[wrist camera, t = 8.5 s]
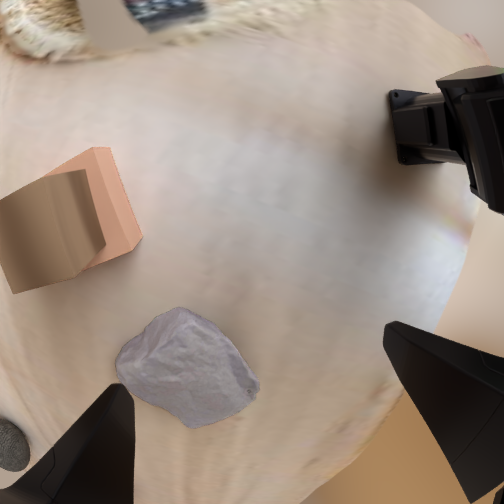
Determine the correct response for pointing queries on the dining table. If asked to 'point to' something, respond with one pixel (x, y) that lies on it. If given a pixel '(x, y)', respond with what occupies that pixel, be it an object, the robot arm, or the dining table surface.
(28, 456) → the decorative ball
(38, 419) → the dining table surface
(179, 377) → the stone block
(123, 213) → the terracotta block
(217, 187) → the dining table surface
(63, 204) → the walnut cube
